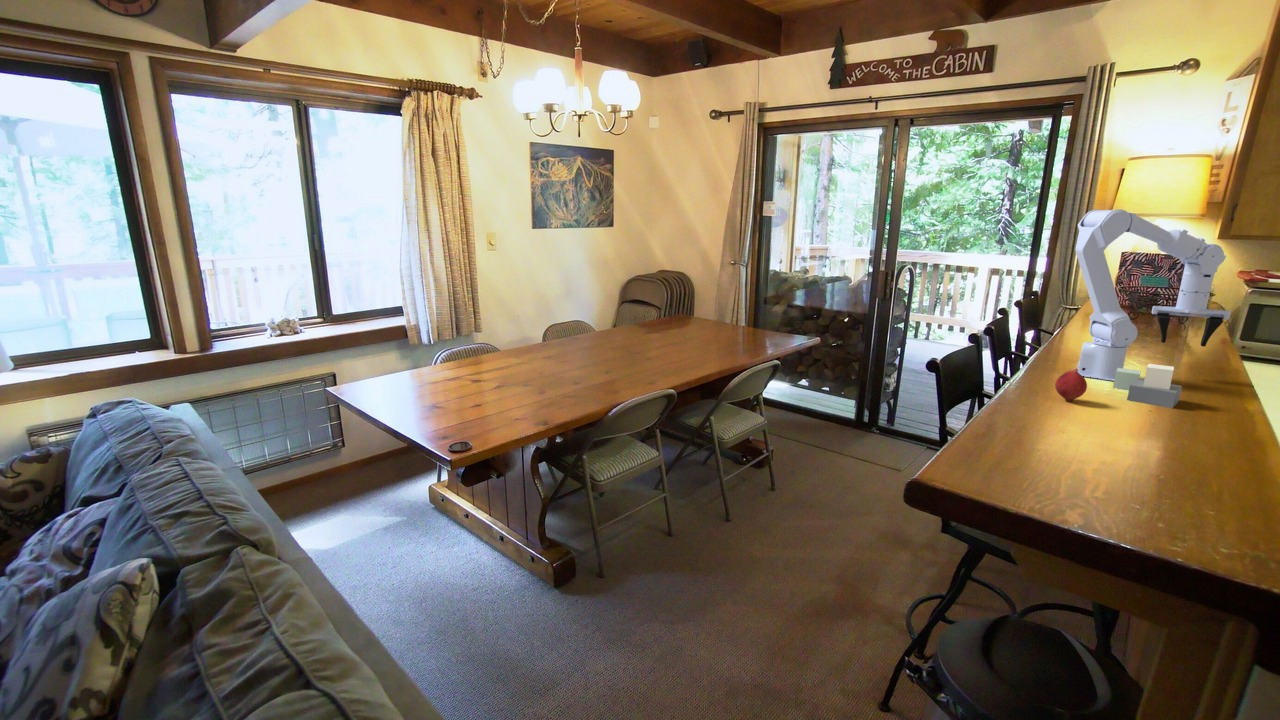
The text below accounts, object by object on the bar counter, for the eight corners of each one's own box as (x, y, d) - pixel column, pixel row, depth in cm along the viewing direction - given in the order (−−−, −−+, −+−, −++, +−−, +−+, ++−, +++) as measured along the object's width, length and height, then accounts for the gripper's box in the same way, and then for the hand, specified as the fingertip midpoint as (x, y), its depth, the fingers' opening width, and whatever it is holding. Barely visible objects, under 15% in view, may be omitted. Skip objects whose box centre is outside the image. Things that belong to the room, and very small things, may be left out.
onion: (1056, 403, 133) (1062, 369, 131) (1050, 396, 139) (1055, 363, 137) (1087, 406, 131) (1093, 372, 129) (1079, 398, 136) (1085, 366, 134)
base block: (1126, 401, 135) (1130, 385, 134) (1134, 394, 140) (1137, 378, 139) (1171, 409, 129) (1175, 392, 128) (1178, 402, 134) (1182, 386, 133)
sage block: (1112, 388, 145) (1116, 371, 143) (1114, 384, 148) (1117, 367, 147) (1136, 392, 142) (1139, 374, 140) (1137, 388, 145) (1140, 370, 144)
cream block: (1143, 386, 134) (1147, 367, 132) (1144, 382, 137) (1148, 363, 136) (1169, 389, 131) (1173, 370, 130) (1170, 385, 134) (1174, 366, 133)
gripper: (1158, 291, 148) (1147, 343, 151) (1237, 295, 139) (1224, 350, 143) (1155, 288, 153) (1145, 338, 157) (1232, 292, 145) (1219, 345, 148)
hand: (1182, 343), depth 150 cm, fingers open, 7 cm apart
